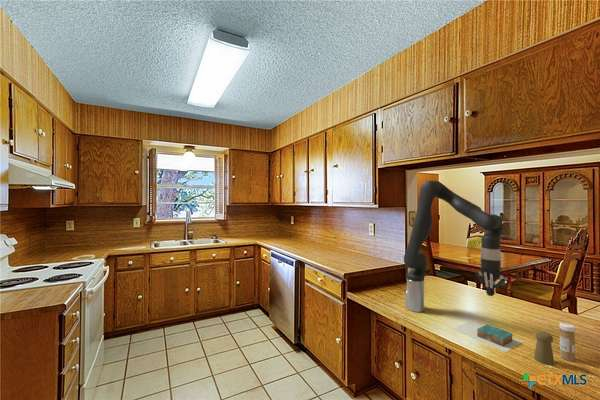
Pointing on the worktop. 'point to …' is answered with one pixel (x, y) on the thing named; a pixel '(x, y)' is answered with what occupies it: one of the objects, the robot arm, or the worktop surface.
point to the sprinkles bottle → (567, 341)
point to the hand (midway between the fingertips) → (490, 295)
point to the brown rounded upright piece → (544, 348)
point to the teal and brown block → (494, 335)
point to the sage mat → (471, 331)
